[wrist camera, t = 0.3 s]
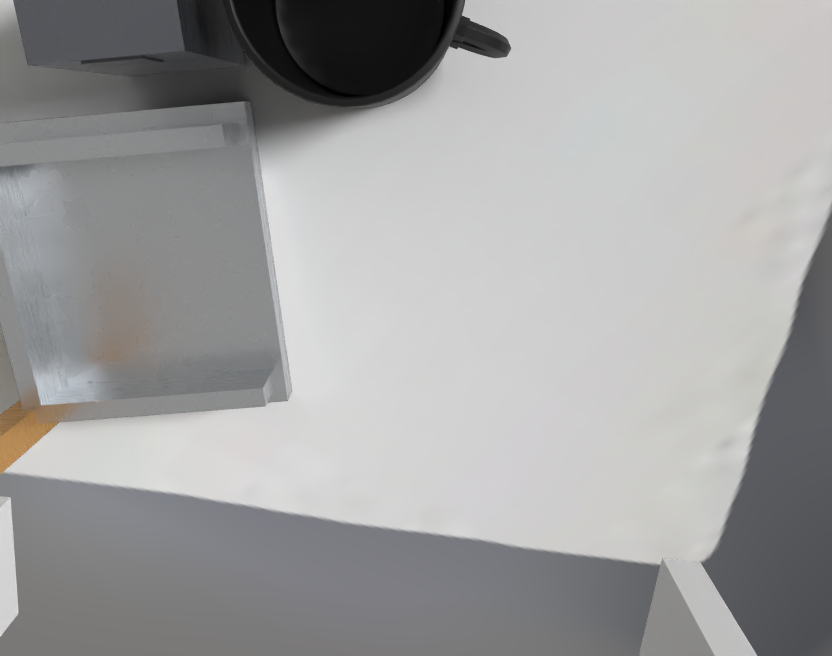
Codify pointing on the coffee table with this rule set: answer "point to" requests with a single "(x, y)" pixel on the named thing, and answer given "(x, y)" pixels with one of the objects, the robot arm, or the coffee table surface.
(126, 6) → the dark gray box
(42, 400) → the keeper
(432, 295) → the coffee table surface
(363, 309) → the coffee table surface
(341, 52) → the mug
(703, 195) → the coffee table surface
